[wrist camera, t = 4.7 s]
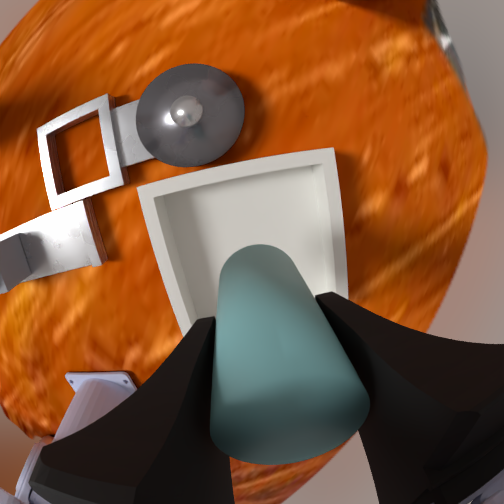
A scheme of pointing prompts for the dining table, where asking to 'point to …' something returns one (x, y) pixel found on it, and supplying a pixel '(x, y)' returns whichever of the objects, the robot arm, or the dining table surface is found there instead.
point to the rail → (61, 240)
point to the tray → (246, 224)
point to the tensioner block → (152, 128)
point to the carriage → (12, 263)
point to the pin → (278, 366)
